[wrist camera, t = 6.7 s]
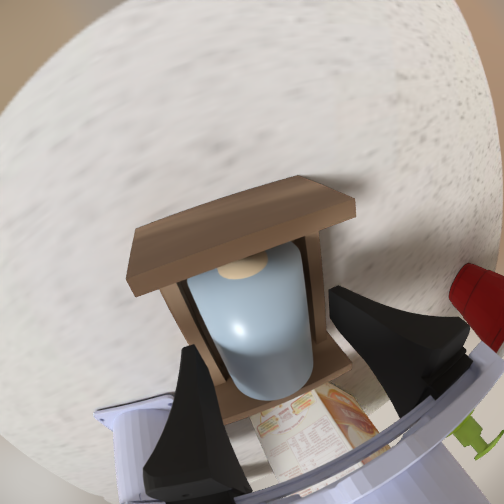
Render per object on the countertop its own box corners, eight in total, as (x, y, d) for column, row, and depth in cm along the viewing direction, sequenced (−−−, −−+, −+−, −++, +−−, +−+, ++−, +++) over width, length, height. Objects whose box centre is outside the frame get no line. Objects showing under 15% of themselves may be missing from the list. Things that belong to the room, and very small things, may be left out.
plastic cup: (434, 286, 25) (509, 347, 15) (479, 229, 25) (549, 271, 14) (435, 330, 30) (489, 380, 20) (476, 280, 30) (529, 320, 20)
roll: (309, 331, 17) (317, 396, 13) (236, 340, 18) (228, 403, 14) (295, 225, 13) (307, 289, 9) (199, 242, 14) (172, 306, 10)
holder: (316, 325, 20) (351, 369, 16) (206, 369, 18) (223, 425, 14) (297, 175, 14) (354, 198, 10) (135, 228, 13) (125, 279, 8)
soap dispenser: (431, 342, 32) (512, 424, 15) (412, 373, 35) (481, 451, 17) (408, 353, 30) (496, 448, 13) (388, 386, 33) (461, 475, 16)
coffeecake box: (355, 395, 29) (433, 501, 13) (312, 427, 30) (379, 534, 13) (301, 362, 22) (423, 542, 5) (241, 406, 22) (328, 582, 5)
